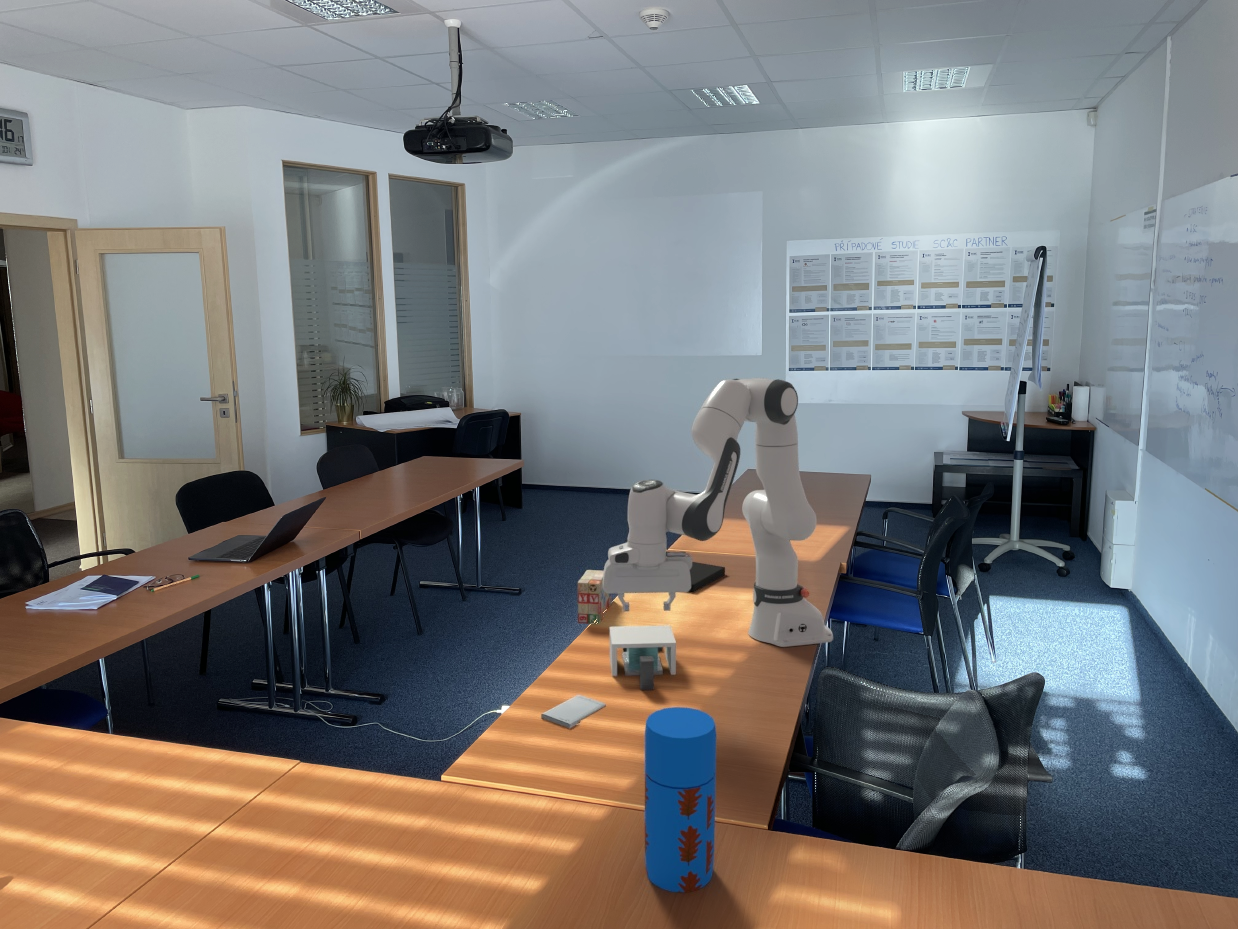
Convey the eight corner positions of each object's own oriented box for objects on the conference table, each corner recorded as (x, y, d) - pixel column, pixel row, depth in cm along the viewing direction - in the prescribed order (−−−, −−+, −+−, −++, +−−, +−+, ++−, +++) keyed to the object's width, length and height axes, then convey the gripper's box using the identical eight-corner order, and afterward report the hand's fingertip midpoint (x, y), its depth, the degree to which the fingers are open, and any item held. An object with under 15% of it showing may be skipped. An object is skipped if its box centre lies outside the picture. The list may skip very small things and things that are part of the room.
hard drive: (569, 724, 186) (606, 703, 196) (540, 713, 191) (577, 693, 201) (569, 731, 187) (606, 710, 196) (541, 720, 191) (577, 700, 201)
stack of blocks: (593, 599, 270) (593, 560, 268) (613, 600, 269) (613, 561, 267) (577, 623, 250) (577, 581, 248) (599, 625, 249) (599, 582, 247)
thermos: (641, 852, 144) (641, 707, 139) (706, 848, 144) (708, 705, 140) (649, 895, 133) (649, 740, 129) (719, 891, 134) (722, 737, 130)
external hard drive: (653, 586, 284) (653, 577, 283) (687, 569, 303) (687, 560, 303) (693, 594, 277) (693, 584, 276) (724, 575, 296) (725, 567, 295)
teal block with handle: (657, 655, 224) (657, 629, 223) (666, 689, 204) (666, 660, 203) (622, 656, 224) (622, 630, 223) (627, 690, 204) (627, 661, 203)
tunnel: (670, 657, 225) (670, 625, 223) (675, 676, 213) (676, 642, 212) (609, 658, 224) (609, 626, 222) (612, 678, 212) (611, 644, 211)
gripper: (690, 547, 204) (689, 605, 206) (602, 549, 203) (602, 606, 205) (694, 555, 198) (693, 614, 200) (603, 556, 196) (603, 615, 199)
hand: (646, 610), depth 202 cm, fingers open, 8 cm apart
